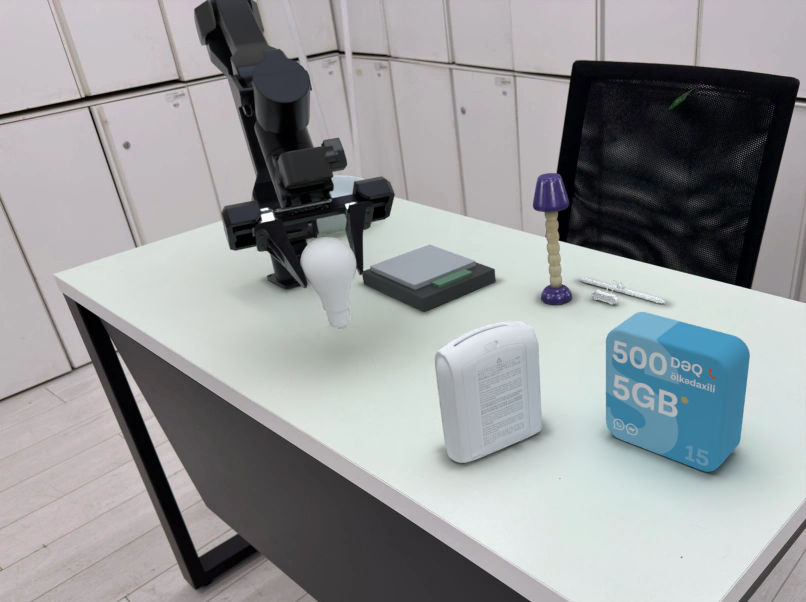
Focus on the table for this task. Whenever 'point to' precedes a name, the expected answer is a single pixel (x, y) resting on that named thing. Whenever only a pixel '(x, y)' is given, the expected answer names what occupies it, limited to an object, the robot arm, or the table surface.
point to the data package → (676, 389)
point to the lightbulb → (331, 276)
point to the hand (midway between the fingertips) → (333, 279)
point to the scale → (428, 277)
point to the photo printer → (489, 389)
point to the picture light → (612, 297)
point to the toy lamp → (552, 233)
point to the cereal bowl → (341, 188)
